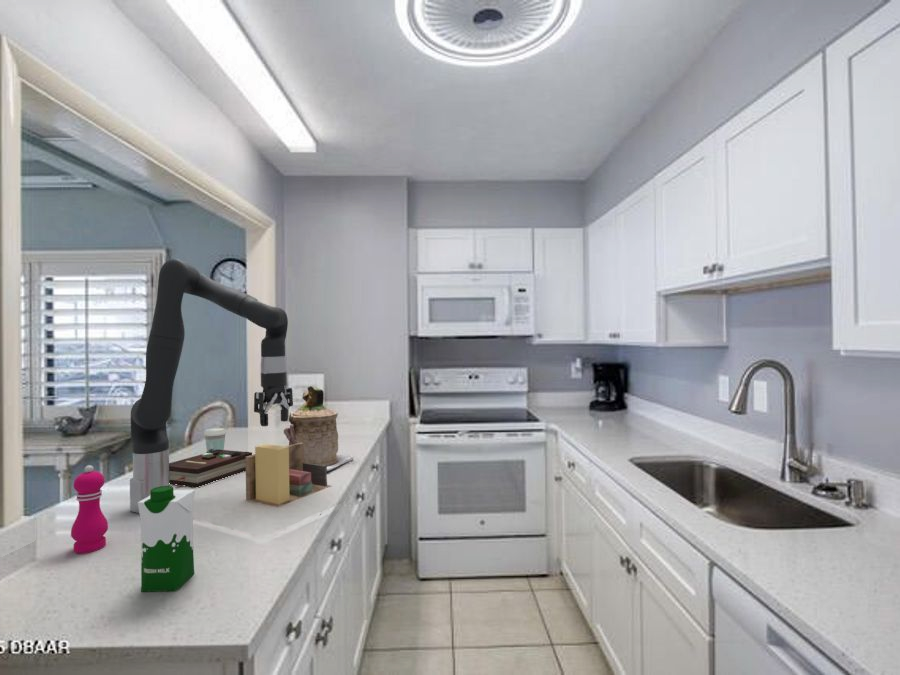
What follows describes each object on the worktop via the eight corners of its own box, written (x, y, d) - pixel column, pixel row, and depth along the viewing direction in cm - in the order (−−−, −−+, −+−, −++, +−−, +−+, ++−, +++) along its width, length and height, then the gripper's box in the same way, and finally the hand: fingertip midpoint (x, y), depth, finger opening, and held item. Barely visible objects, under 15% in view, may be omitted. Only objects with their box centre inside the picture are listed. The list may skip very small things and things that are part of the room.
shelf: (278, 511, 139) (277, 461, 139) (246, 504, 146) (245, 456, 146) (331, 490, 158) (331, 446, 158) (300, 484, 165) (300, 442, 165)
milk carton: (133, 594, 94) (132, 493, 94) (159, 572, 103) (158, 479, 103) (179, 593, 95) (177, 491, 95) (201, 571, 104) (200, 478, 104)
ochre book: (278, 504, 141) (278, 449, 141) (255, 499, 146) (255, 446, 146) (289, 500, 145) (288, 447, 145) (266, 495, 149) (265, 444, 149)
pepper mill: (103, 539, 121) (102, 460, 122) (112, 546, 117) (111, 464, 117) (67, 549, 116) (66, 466, 116) (75, 557, 111) (74, 471, 111)
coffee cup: (204, 456, 208) (204, 428, 208) (226, 454, 212) (226, 426, 212) (203, 460, 200) (203, 432, 200) (226, 458, 204) (226, 430, 204)
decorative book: (152, 464, 168) (221, 446, 196) (153, 486, 167) (221, 464, 196) (194, 468, 161) (259, 449, 189) (194, 491, 161) (259, 468, 189)
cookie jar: (355, 459, 199) (354, 382, 199) (324, 476, 176) (323, 388, 176) (303, 456, 206) (302, 381, 206) (266, 471, 182) (265, 387, 182)
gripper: (280, 369, 157) (281, 419, 157) (246, 372, 143) (247, 427, 143) (298, 369, 154) (299, 420, 154) (266, 373, 141) (267, 428, 140)
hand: (274, 423), depth 148 cm, fingers open, 8 cm apart
